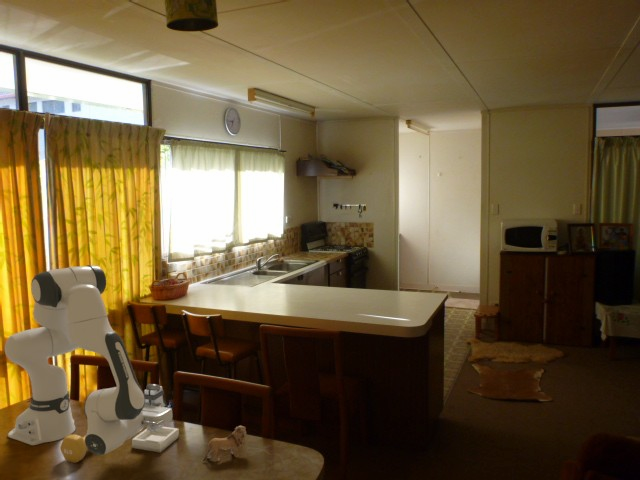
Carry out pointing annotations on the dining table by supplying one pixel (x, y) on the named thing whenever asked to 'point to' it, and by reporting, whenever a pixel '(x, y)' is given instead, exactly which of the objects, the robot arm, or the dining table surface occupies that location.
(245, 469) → the dining table surface
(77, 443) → the dumbbell
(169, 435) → the tray
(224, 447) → the lion figurine
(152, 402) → the white gray rectangular canister
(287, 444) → the dining table surface
